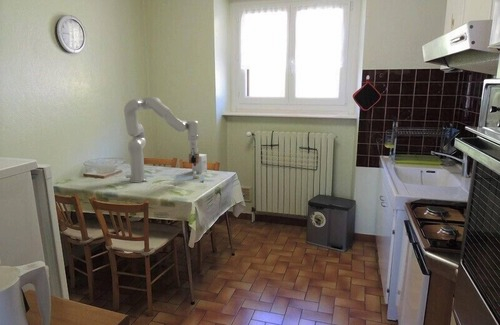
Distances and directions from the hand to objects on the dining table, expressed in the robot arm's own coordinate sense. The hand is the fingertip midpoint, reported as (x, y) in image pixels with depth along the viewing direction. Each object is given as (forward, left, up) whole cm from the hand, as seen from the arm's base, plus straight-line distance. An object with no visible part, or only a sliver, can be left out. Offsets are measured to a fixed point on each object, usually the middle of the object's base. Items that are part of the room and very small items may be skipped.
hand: (194, 161), depth 259 cm
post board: (-4, +2, -14) cm, 15 cm away
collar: (0, 0, -1) cm, 1 cm away
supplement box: (+2, +21, -14) cm, 26 cm away
